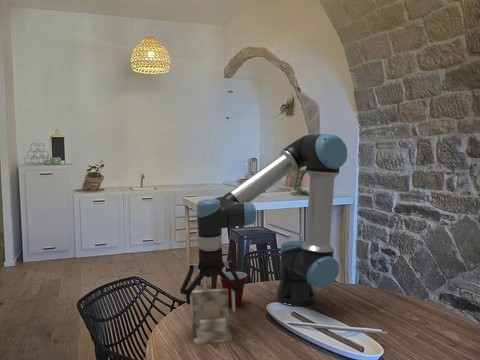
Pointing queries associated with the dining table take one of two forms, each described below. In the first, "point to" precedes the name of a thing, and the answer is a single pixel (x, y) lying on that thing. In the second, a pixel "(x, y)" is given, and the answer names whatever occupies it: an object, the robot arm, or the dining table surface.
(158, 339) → the dining table surface
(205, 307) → the candle
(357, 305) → the dining table surface
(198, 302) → the beige u-shaped bracket
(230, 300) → the plastic cup
